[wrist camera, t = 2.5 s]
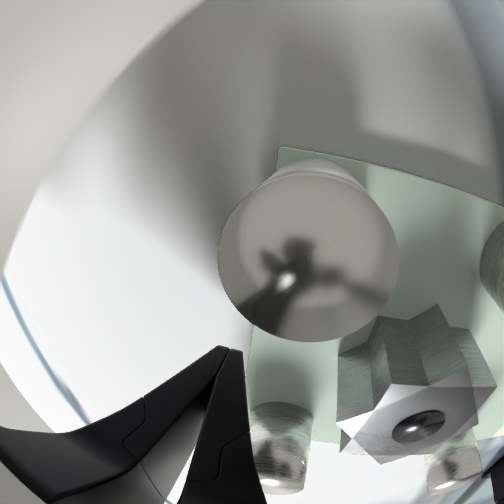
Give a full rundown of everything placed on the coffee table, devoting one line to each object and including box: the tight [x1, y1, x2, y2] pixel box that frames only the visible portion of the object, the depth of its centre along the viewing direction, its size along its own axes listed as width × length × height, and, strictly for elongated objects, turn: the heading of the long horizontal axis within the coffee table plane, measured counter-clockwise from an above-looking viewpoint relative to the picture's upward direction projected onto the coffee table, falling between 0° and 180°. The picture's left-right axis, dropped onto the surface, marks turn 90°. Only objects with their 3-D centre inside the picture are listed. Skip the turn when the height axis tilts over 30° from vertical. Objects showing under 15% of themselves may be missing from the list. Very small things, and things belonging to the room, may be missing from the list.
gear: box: [336, 303, 497, 464], centre depth 8 cm, size 6×6×3 cm
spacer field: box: [218, 158, 504, 495], centre depth 7 cm, size 18×13×4 cm
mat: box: [245, 146, 504, 444], centre depth 9 cm, size 22×13×1 cm, turn 84°
